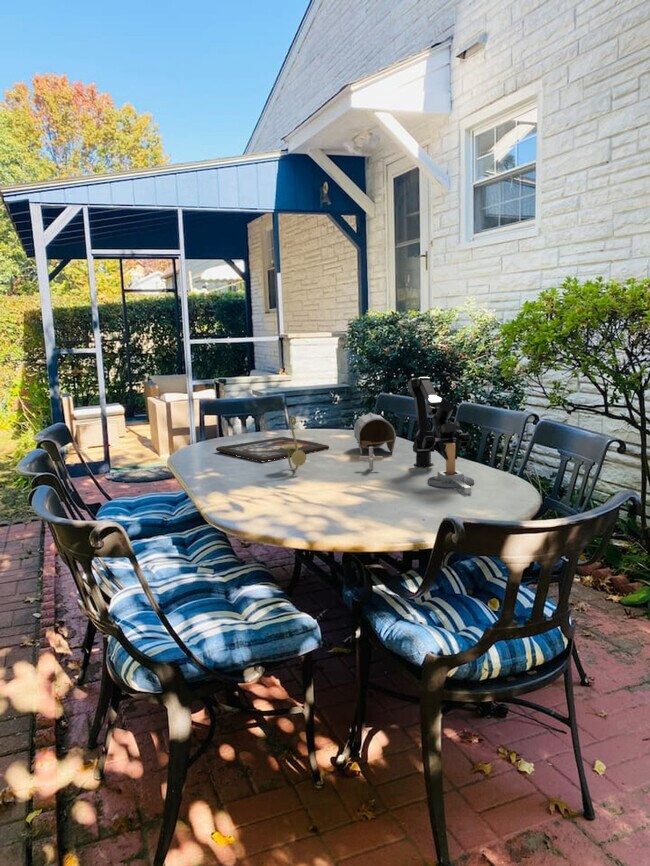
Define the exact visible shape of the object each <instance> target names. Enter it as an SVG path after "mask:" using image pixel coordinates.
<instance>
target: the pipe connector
mask: <svg viewBox="0 0 650 866" xmlns="http://www.w3.org/2000/svg"><path fill="white" fill-rule="evenodd" d="M359 461H367V463H369V466H368V468H369V471H373V470H374V461H384V457H383V456H382V455H381V456H379V455H376V456H375V454H374V449H373V447H369V449H368V455H365V456H363V455H359Z"/></svg>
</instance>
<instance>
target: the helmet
mask: <svg viewBox="0 0 650 866" xmlns="http://www.w3.org/2000/svg"><path fill="white" fill-rule="evenodd" d="M353 430H354V431H353V433H354V438H355V440H356V441H357V442H356V443H357V446H358V448H359V452H360V455H363V449H368V450H369V447H373V448H374V449H378V448H380V447H382V446H384V445H385V444H386V446H387V450H388V451H389V453H391V452H392V453H394V449H395V443H396V438H397V435H396V429H395V427H394V426H393V424H392V423H390V422H389V421H388V420H387V419H385V418H384V417H382V415H378V414H376V413H372V412H368V413H367V414H365V415H362V416H360V417H358V419H357V420H355V423H354V427H353Z"/></svg>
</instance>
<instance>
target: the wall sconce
mask: <svg viewBox="0 0 650 866" xmlns="http://www.w3.org/2000/svg"><path fill="white" fill-rule="evenodd" d="M296 424H297V419H296V416H295V415H294V414H293V415H292V414H291V416H290V418H289V425H290V430H291V433H292V434H291V435H292V438H294V443H295V444H289V445H283V446H281V448H283V449H289V450H288V458H287V462H288V465H289V468H290V469H291V470H292V471H293V470H294V471H293V472H296V471H297V470H298V468H299V467H300V466H303V465H304V464H305V463H306V461H307V454H305V453H304V452H303V451H300V450H298V448H301V447H302V445H298V444H297V442H296V439H297V438H296V435H295V434H296V433H295V431H294V426H293V425H295V426H296ZM293 449H296V452H294V450H293ZM290 452H291V456H292V457H290ZM292 452H293V454H292ZM292 463H293V465H295V468H294V467H293V465H292Z"/></svg>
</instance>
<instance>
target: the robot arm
mask: <svg viewBox="0 0 650 866" xmlns="http://www.w3.org/2000/svg"><path fill="white" fill-rule="evenodd" d="M407 388H408V390H409V394H410V395H411V396H412V398H413V399H414V407H415V408H414V409H415V415H416V416H415V417H416V424H417V431H416V434H415V436H414V438H415V440H414V442H413V445H412V452H413V453H415V454H416V455H415V463H413V466H417V467H422V468H426V467H429V466H430V465H431V466H434V465H435V464H434V463H433V462H432V452H433V453H434V452H437V453H438V454H439V455H440V456H441V457H442V458H443V459H444V460H445V461H446V460H447V459H448V458H447V454H446V447H445V445H446V443H455V461H456V460H458V457H459V455H458V452H459V449H460V448H466V447H468V446H469V444H470V443H471V440H472V436H471V434H470V433H460V434H459V435H458V437H454V436H455V435H456V434H455V432H457V431H459V430H460V429H461V424H460V422H459V421H454V422H449V421H448V420H449V419H450V418H451V415H452V413H453V411H454V409H455V408H454V407H455V405H454V404H453V403H452V402H451V401H448V400H447V398H442V397H440V396H438V395H437V393H436V391H435V389H434V387H433V385H432V382H431V377H428V376H419V377H413V378H410V380H408V382H407ZM428 415H429V416H433V417H432V423H431V424H432V425H433V426H434V430H435V434H434V432H433V430H431V429H430V428H429V427H430V426H429V422H428Z"/></svg>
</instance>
